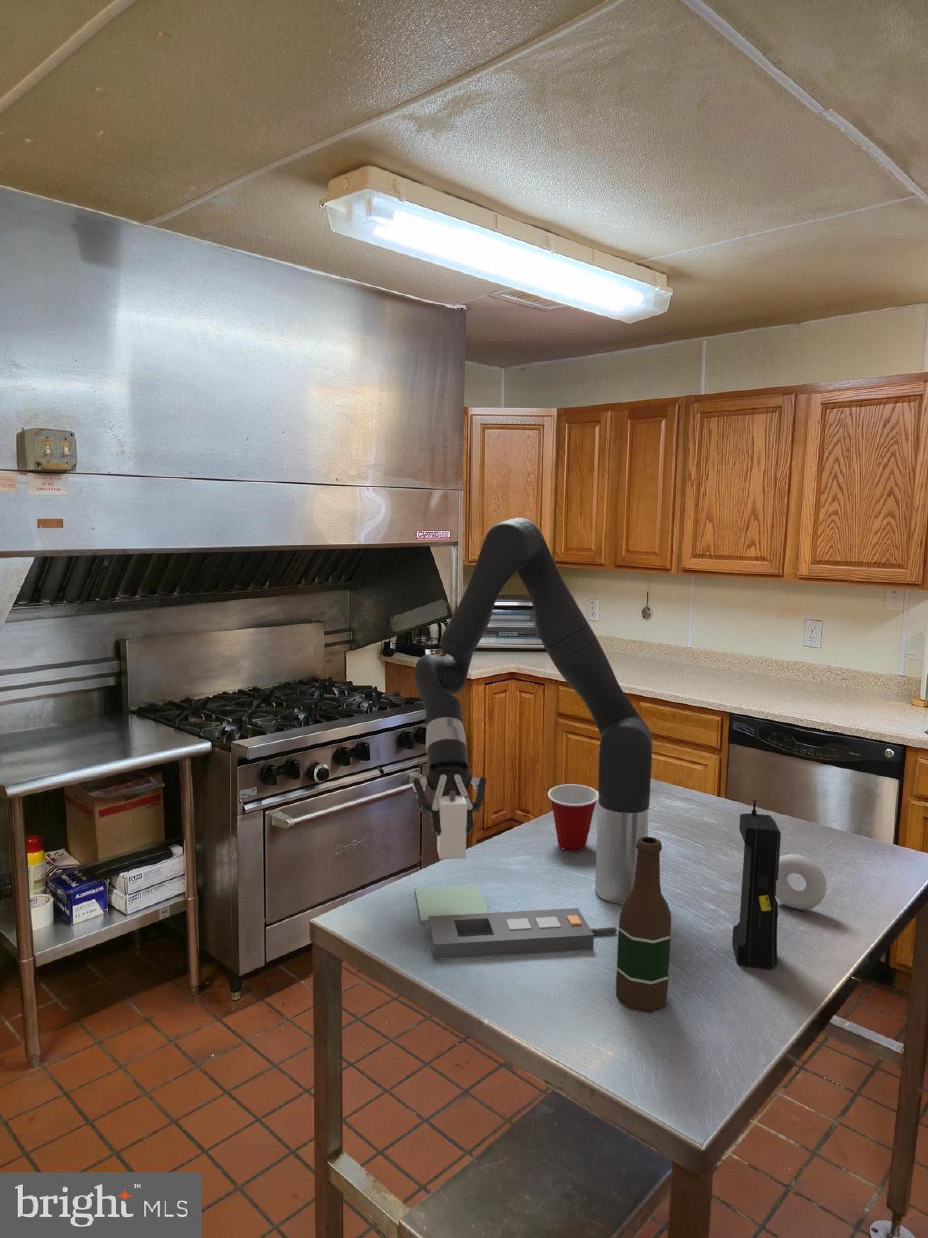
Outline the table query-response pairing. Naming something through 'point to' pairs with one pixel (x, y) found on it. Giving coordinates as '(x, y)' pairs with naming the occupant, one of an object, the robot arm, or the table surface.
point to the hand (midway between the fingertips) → (453, 833)
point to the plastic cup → (573, 814)
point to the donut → (812, 877)
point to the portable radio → (758, 892)
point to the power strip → (511, 933)
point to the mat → (449, 901)
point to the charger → (452, 827)
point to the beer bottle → (644, 935)
